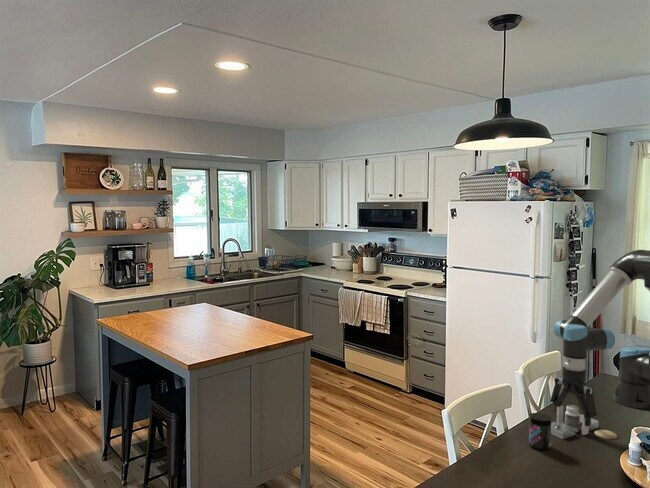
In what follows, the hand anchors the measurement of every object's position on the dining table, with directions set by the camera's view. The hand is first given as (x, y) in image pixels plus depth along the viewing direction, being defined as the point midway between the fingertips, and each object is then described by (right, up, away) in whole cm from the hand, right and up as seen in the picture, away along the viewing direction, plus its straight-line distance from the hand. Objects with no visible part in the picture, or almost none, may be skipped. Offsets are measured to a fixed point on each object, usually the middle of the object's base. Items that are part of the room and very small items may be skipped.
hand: (572, 428), depth 180 cm
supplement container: (-18, -1, -13) cm, 22 cm away
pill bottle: (0, -1, 0) cm, 1 cm away
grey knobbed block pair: (0, 0, 0) cm, 0 cm away
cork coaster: (+10, -1, -4) cm, 11 cm away
